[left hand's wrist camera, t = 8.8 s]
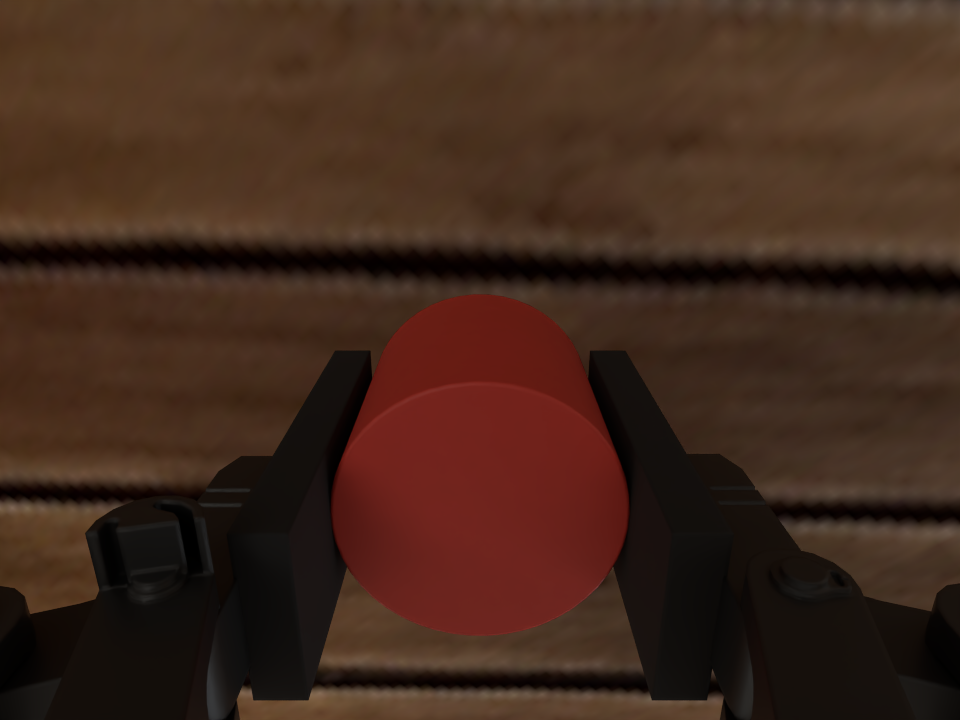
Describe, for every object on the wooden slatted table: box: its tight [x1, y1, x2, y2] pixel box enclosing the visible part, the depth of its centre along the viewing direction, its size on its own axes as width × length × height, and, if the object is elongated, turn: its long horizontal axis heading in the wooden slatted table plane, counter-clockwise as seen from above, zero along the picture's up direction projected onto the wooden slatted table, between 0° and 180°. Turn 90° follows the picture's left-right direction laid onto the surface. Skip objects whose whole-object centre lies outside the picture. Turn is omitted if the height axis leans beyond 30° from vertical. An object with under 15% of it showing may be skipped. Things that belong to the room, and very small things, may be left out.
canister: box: [330, 294, 630, 636], centre depth 13 cm, size 5×5×5 cm
